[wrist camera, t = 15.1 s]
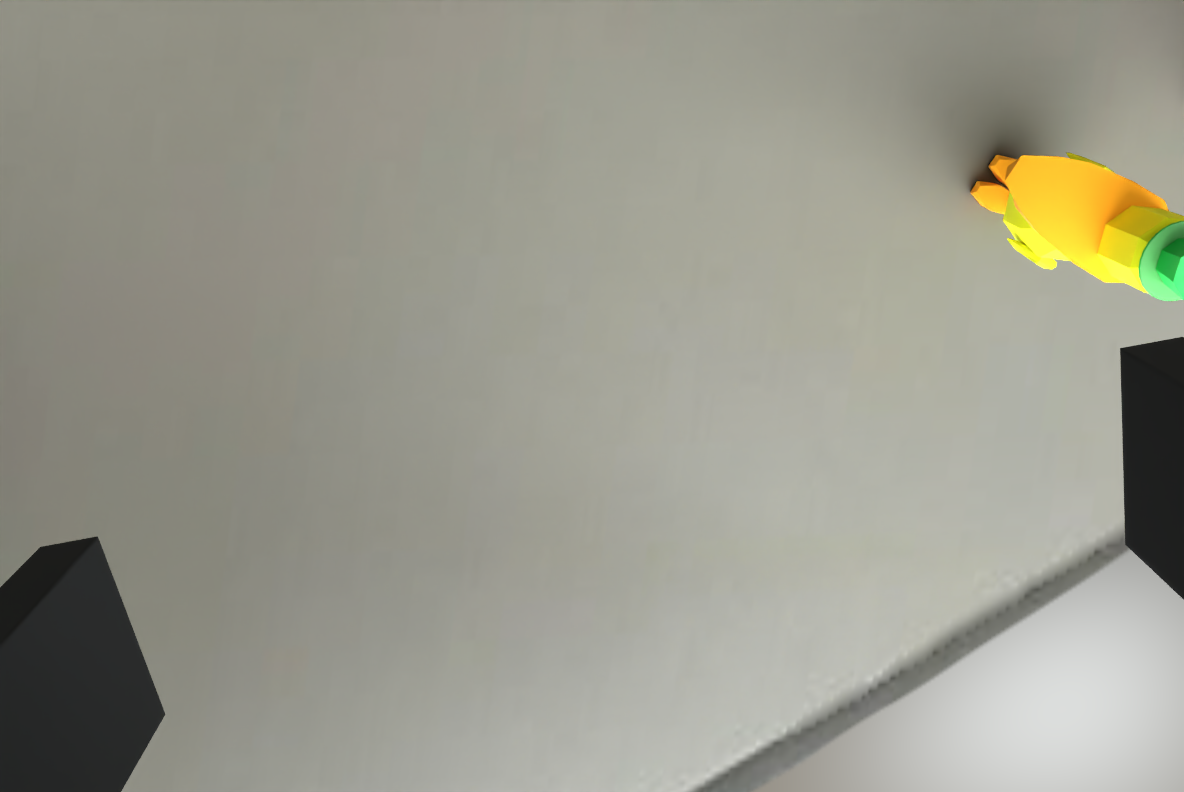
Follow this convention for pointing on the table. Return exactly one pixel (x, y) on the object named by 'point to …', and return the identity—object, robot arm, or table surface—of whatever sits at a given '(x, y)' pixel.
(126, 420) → the table surface
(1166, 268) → the toy figure
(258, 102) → the table surface
